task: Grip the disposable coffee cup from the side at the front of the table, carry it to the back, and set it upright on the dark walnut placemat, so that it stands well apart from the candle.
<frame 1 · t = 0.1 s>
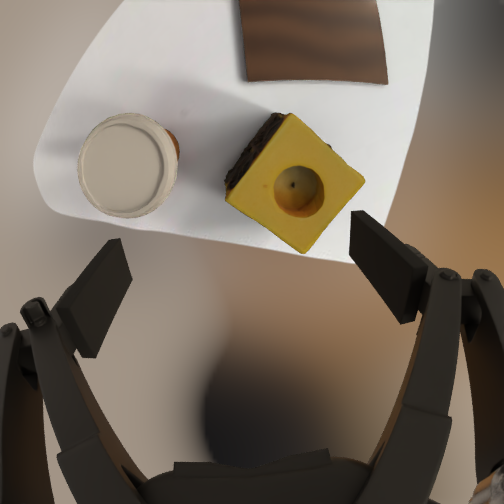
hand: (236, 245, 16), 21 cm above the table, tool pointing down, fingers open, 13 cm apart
disposable coffee cup: (155, 152, 32), on the table
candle: (280, 168, 35), on the table
placemat: (314, 16, 26), on the table
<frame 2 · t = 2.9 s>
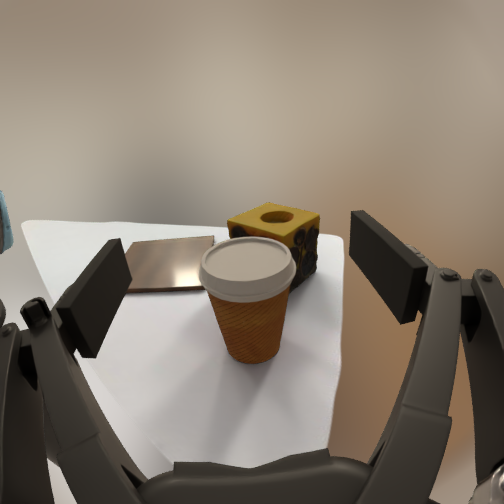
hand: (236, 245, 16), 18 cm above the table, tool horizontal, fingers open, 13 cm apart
disposable coffee cup: (253, 345, 33), on the table
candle: (275, 275, 47), on the table
placemat: (162, 263, 52), on the table
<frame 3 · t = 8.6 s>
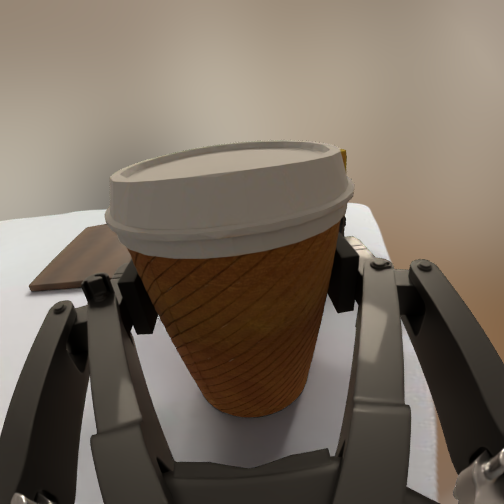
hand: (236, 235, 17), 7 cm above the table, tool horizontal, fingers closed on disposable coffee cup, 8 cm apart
disposable coffee cup: (253, 375, 16), on the table, touching gripper
placemat: (115, 249, 34), on the table
when the fingers open (7 cm above the table, at t = 17.4 s): disposable coffee cup stays where it is, resting on placemat.
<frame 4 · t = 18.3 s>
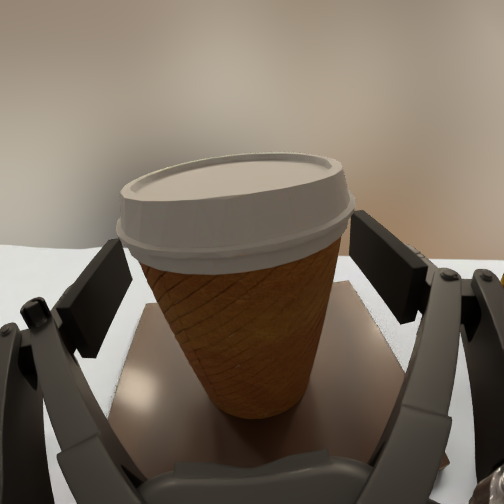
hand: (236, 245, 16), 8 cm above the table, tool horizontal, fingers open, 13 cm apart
disposable coffee cup: (256, 378, 16), point 1 cm above the table, touching placemat
placemat: (256, 384, 17), on the table
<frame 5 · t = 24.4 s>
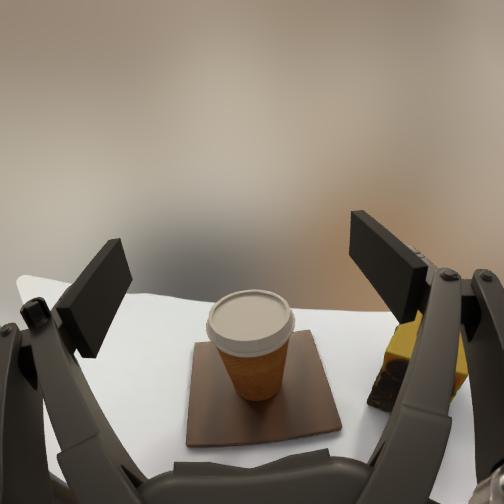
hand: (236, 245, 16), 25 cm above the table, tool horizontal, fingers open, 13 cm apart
disposable coffee cup: (258, 383, 35), point 1 cm above the table, touching placemat
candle: (411, 389, 31), on the table
placemat: (257, 385, 36), on the table
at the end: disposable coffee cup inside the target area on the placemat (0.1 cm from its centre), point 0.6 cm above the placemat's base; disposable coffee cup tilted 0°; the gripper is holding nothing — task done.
